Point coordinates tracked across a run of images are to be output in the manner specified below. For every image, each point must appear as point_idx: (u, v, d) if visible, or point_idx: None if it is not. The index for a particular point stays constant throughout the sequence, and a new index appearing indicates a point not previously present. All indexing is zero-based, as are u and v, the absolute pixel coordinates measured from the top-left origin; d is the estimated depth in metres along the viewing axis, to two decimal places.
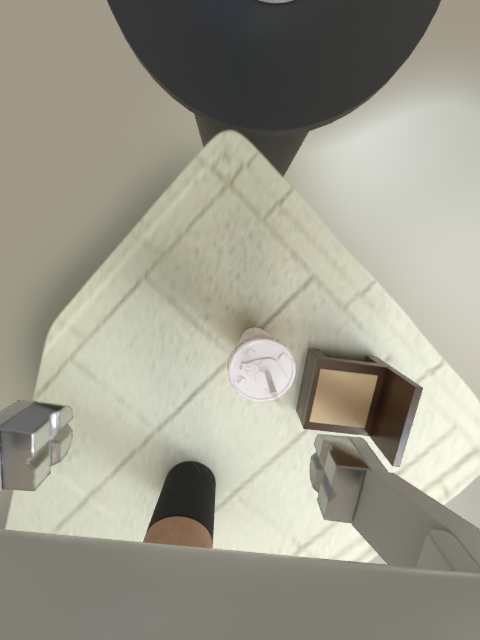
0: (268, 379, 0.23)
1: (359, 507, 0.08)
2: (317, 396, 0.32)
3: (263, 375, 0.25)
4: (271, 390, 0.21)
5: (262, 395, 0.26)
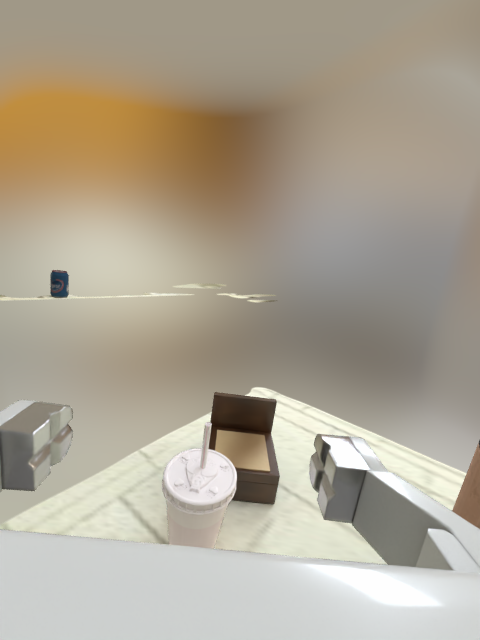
0: (202, 450, 0.23)
1: (359, 507, 0.08)
2: (242, 465, 0.32)
3: (205, 469, 0.24)
4: (205, 429, 0.23)
5: (229, 472, 0.24)
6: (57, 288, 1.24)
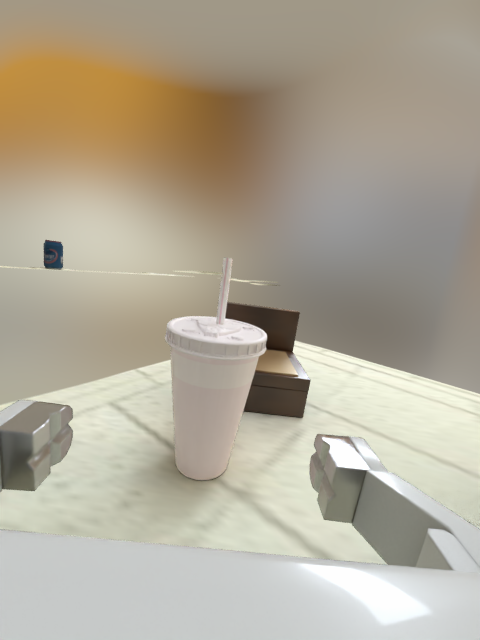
0: (220, 296, 0.17)
1: (359, 507, 0.08)
2: (263, 369, 0.26)
3: (223, 325, 0.17)
4: (224, 264, 0.17)
5: (255, 331, 0.18)
6: (51, 258, 1.17)
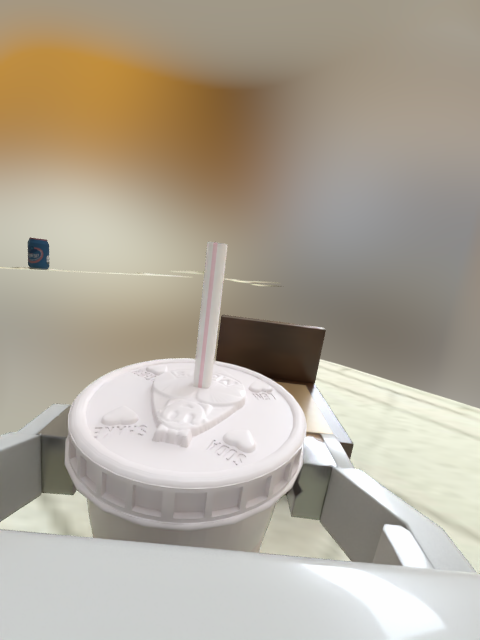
0: (201, 328, 0.08)
1: (327, 503, 0.08)
2: None
3: (209, 390, 0.08)
4: (210, 257, 0.07)
5: (277, 401, 0.08)
6: (35, 257, 1.08)
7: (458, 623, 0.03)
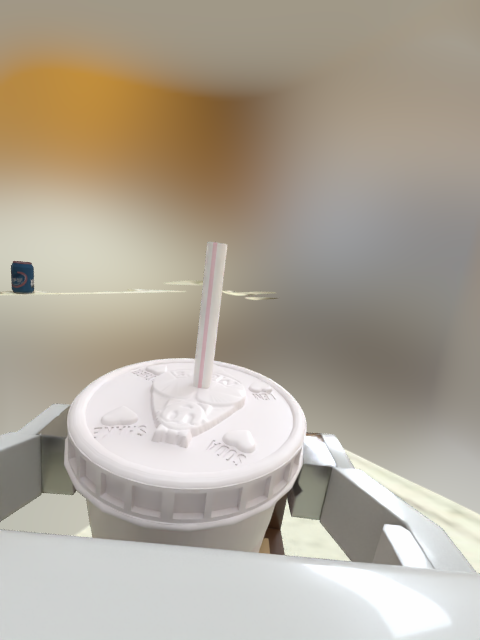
0: (201, 328, 0.08)
1: (327, 504, 0.08)
2: None
3: (209, 390, 0.08)
4: (209, 256, 0.07)
5: (277, 401, 0.08)
6: (19, 282, 1.04)
7: (458, 623, 0.03)
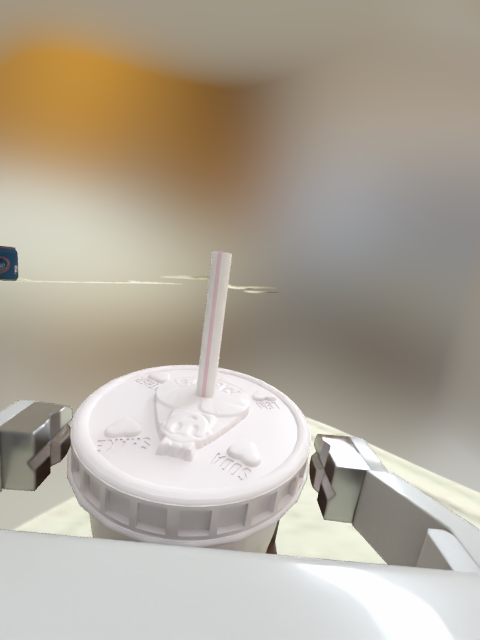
0: (205, 338, 0.08)
1: (359, 507, 0.08)
2: None
3: (212, 400, 0.08)
4: (214, 265, 0.07)
5: (281, 410, 0.08)
6: (1, 267, 0.98)
7: (458, 623, 0.03)
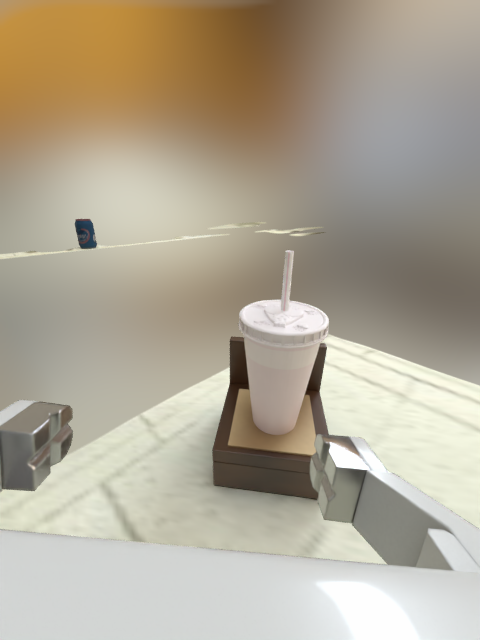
0: (284, 286, 0.19)
1: (359, 507, 0.08)
2: (273, 446, 0.21)
3: (288, 311, 0.19)
4: (287, 257, 0.18)
5: (317, 315, 0.19)
6: (84, 238, 1.17)
7: (458, 623, 0.03)
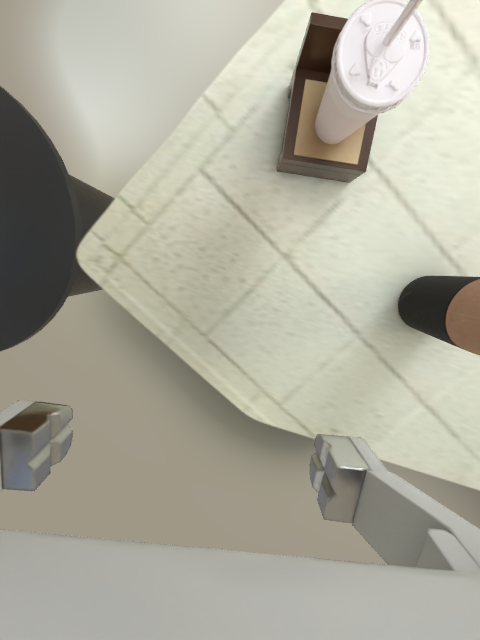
0: (400, 20, 0.16)
1: (359, 507, 0.08)
2: (326, 156, 0.28)
3: (390, 48, 0.18)
4: None
5: (419, 52, 0.18)
6: None
7: (458, 623, 0.03)
